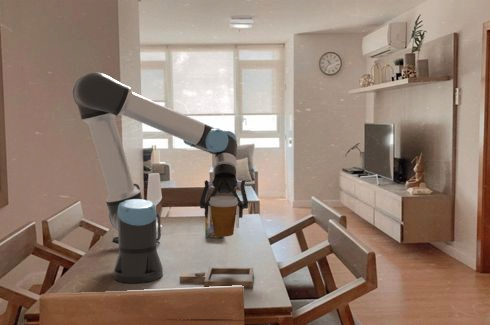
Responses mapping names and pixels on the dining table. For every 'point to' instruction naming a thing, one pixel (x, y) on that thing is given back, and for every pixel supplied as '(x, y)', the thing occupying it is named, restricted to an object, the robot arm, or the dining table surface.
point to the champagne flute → (154, 190)
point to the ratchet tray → (221, 277)
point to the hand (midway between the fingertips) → (223, 225)
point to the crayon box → (210, 229)
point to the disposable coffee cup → (223, 214)
